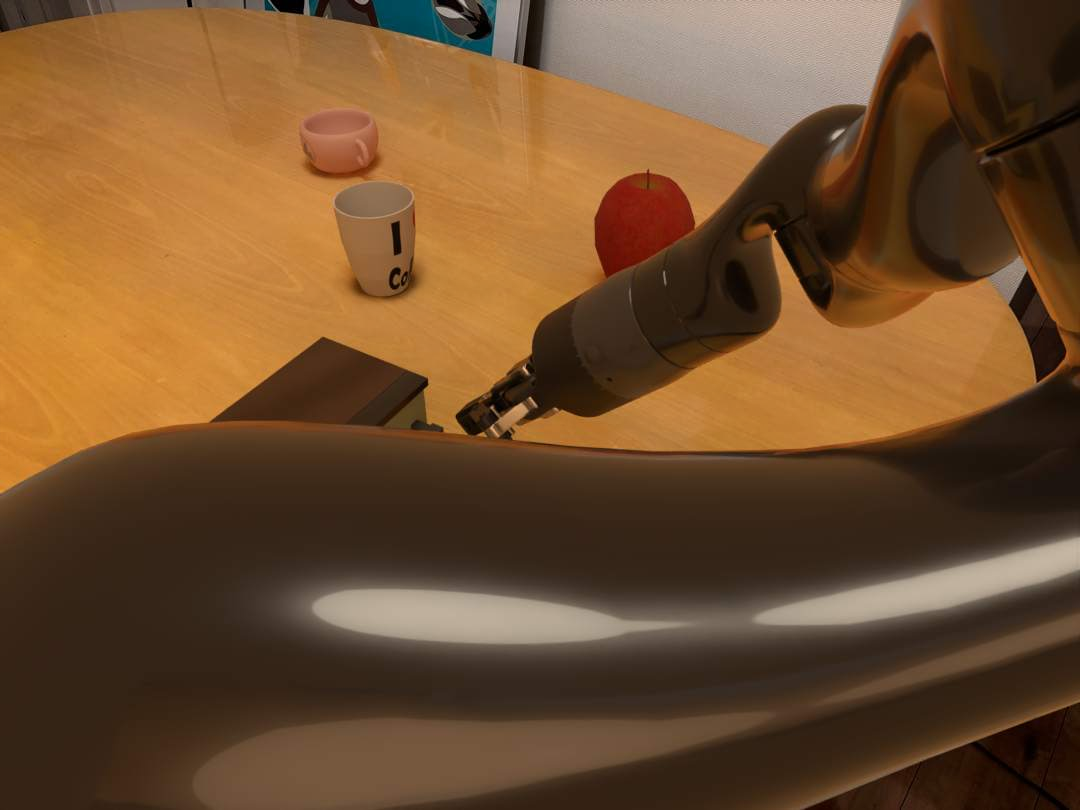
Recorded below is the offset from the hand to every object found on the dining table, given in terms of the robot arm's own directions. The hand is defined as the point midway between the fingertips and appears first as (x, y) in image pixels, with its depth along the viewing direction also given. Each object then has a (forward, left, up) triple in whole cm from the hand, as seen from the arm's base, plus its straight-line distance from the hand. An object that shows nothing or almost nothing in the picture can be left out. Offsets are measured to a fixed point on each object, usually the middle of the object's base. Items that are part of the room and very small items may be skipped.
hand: (467, 421), depth 68 cm
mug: (+40, +47, -7) cm, 62 cm away
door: (-7, +1, -6) cm, 9 cm away
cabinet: (-11, +7, -7) cm, 15 cm away
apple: (+33, +1, -7) cm, 34 cm away
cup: (+20, +25, -7) cm, 33 cm away
